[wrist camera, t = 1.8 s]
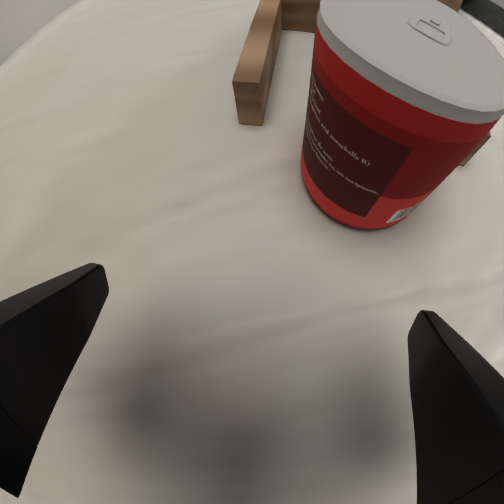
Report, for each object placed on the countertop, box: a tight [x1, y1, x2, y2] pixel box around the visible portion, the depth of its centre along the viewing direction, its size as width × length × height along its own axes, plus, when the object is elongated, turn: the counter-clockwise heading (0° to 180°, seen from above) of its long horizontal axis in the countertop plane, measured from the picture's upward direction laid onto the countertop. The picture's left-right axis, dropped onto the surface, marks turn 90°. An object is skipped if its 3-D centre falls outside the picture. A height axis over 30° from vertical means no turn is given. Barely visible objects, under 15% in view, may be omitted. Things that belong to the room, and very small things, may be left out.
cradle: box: [232, 0, 491, 166], centre depth 16 cm, size 14×16×8 cm
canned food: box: [301, 0, 504, 229], centre depth 12 cm, size 8×8×11 cm
